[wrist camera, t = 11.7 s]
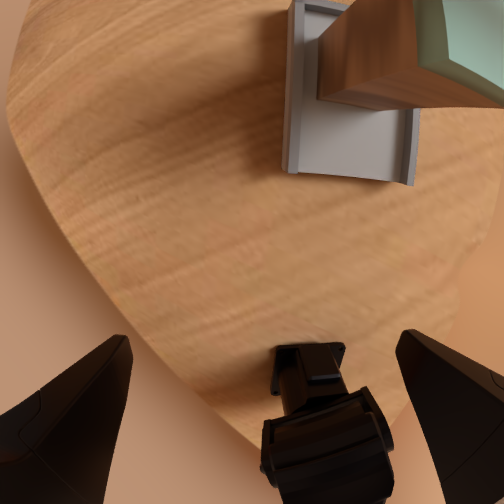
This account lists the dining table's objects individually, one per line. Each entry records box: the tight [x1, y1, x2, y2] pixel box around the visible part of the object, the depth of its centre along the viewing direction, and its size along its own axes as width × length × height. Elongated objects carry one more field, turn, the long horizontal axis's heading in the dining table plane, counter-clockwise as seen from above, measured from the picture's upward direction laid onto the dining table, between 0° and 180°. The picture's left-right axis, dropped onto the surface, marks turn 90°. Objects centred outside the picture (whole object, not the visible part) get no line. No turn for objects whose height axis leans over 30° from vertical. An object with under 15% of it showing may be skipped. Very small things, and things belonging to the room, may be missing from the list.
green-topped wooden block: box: [316, 0, 504, 111], centre depth 10 cm, size 4×4×12 cm
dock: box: [281, 0, 420, 186], centre depth 16 cm, size 12×9×2 cm
